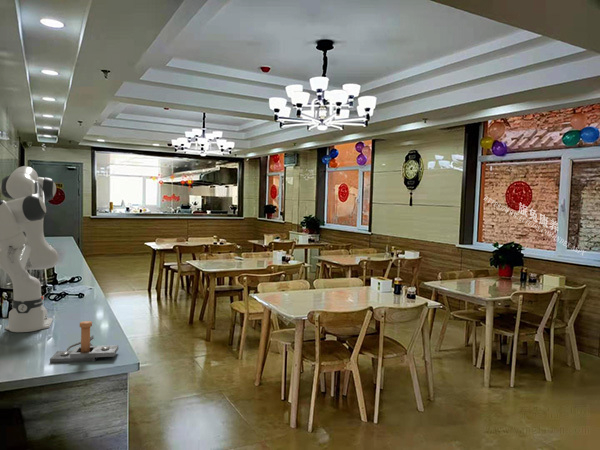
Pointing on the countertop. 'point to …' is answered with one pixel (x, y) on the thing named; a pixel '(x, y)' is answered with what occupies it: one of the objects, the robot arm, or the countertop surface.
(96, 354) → the grey latch
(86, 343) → the pin
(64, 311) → the countertop surface
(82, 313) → the countertop surface
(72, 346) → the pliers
